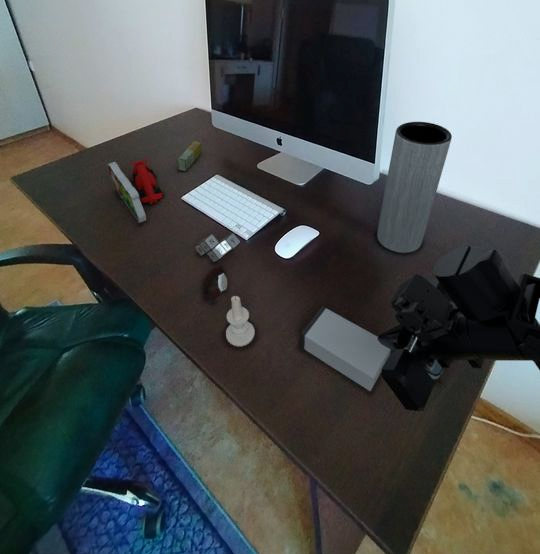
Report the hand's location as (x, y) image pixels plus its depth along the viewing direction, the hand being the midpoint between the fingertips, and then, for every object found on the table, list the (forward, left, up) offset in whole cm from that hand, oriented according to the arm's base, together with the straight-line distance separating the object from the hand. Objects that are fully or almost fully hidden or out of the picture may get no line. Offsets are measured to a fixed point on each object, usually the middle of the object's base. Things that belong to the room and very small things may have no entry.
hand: (379, 339), depth 56 cm
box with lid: (-1, 0, -7) cm, 7 cm away
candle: (+23, +6, -9) cm, 25 cm away
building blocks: (+40, -8, -9) cm, 41 cm away
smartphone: (-7, -11, -9) cm, 16 cm away
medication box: (+75, -36, -9) cm, 83 cm away
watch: (+34, 0, -9) cm, 35 cm away
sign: (+73, -10, -9) cm, 74 cm away
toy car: (+75, -18, -9) cm, 77 cm away
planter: (+7, -34, -9) cm, 36 cm away
